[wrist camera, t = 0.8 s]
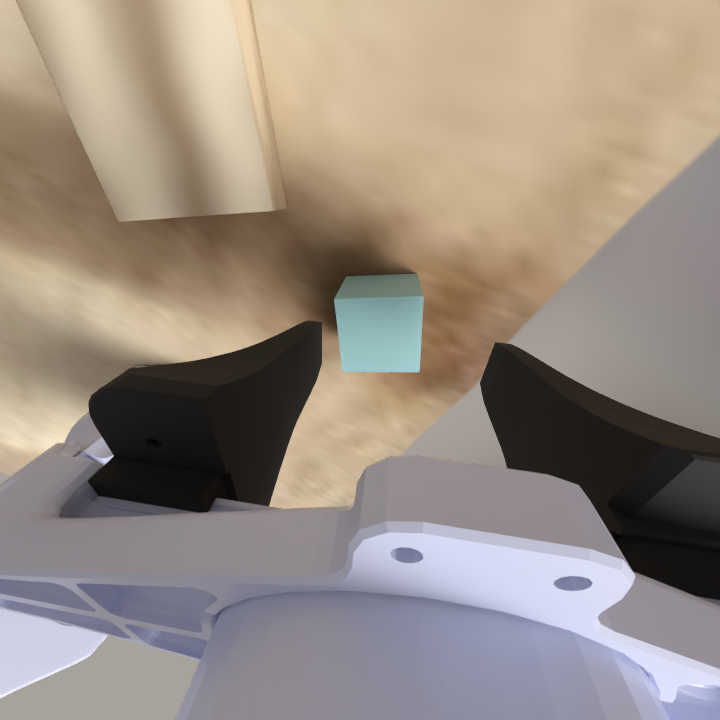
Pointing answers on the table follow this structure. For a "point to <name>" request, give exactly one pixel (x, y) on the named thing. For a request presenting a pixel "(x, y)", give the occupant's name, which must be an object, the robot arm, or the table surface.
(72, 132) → the table surface
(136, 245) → the table surface
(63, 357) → the table surface
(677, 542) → the robot arm
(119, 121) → the birch base
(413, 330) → the teal block
